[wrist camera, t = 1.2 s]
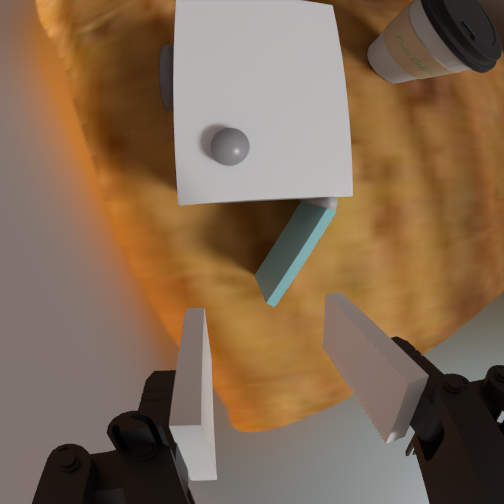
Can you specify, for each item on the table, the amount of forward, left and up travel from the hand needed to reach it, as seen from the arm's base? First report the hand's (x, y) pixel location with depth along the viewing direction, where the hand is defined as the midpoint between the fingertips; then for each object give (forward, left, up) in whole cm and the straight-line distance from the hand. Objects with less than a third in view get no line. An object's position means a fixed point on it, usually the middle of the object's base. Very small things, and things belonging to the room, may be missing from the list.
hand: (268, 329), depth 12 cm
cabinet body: (-13, +2, -17) cm, 21 cm away
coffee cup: (-21, +19, -17) cm, 33 cm away
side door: (-1, +5, -17) cm, 17 cm away
